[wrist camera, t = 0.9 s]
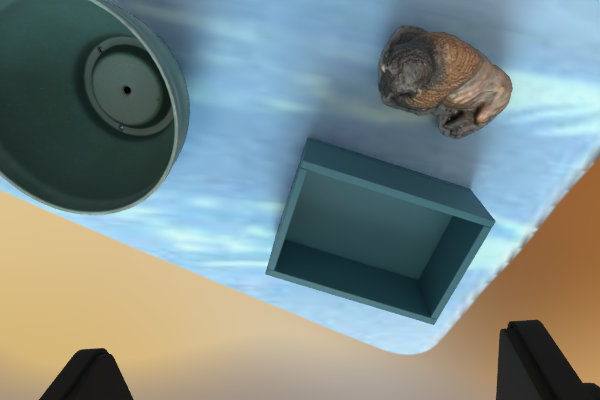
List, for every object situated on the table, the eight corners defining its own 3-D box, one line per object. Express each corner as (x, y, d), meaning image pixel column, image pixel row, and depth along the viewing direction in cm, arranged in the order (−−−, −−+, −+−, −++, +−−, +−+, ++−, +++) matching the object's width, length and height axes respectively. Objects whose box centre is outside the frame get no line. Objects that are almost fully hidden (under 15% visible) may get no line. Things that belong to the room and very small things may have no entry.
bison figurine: (514, 68, 34) (580, 86, 25) (470, 141, 37) (514, 181, 28) (388, 12, 33) (408, 10, 24) (353, 92, 36) (359, 116, 27)
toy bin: (307, 137, 38) (302, 159, 32) (470, 189, 39) (496, 221, 33) (275, 238, 43) (265, 274, 37) (420, 282, 44) (434, 325, 38)
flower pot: (250, 68, 36) (218, 86, 26) (171, 197, 42) (121, 251, 32) (88, -50, 33) (-16, -80, 23) (28, 107, 39) (-74, 137, 29)
